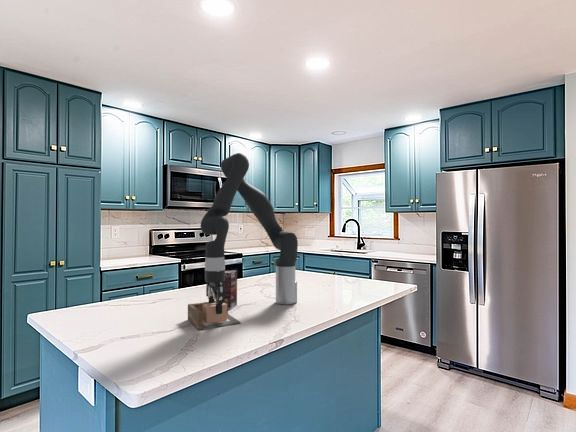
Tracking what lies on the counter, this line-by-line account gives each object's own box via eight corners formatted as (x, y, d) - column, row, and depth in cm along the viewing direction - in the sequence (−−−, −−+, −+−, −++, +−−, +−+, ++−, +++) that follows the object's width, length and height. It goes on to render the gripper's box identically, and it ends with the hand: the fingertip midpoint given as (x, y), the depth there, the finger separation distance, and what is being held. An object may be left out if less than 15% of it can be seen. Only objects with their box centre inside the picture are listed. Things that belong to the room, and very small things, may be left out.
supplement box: (230, 310, 154) (230, 273, 154) (220, 309, 155) (220, 272, 155) (237, 305, 163) (237, 270, 163) (227, 304, 164) (227, 269, 164)
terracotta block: (202, 320, 137) (202, 304, 137) (222, 317, 141) (222, 301, 141) (206, 323, 132) (206, 306, 132) (227, 320, 136) (227, 304, 136)
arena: (226, 314, 148) (226, 299, 148) (240, 323, 135) (240, 307, 135) (187, 319, 140) (187, 304, 140) (198, 330, 127) (198, 313, 127)
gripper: (199, 267, 141) (200, 308, 141) (211, 272, 128) (211, 317, 128) (218, 265, 144) (218, 305, 144) (231, 270, 132) (231, 314, 132)
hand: (215, 311), depth 136 cm, fingers open, 8 cm apart
